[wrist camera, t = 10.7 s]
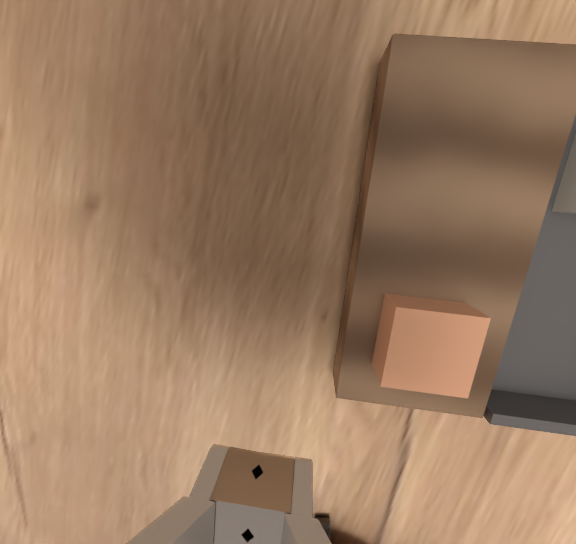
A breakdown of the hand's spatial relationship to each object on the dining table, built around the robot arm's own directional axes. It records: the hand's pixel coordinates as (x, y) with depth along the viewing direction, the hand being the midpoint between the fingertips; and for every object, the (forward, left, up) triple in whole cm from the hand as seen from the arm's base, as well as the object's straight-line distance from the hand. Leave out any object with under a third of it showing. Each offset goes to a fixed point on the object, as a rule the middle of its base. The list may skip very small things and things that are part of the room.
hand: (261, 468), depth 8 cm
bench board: (-6, +9, -14) cm, 17 cm away
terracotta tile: (0, +8, -11) cm, 14 cm away
